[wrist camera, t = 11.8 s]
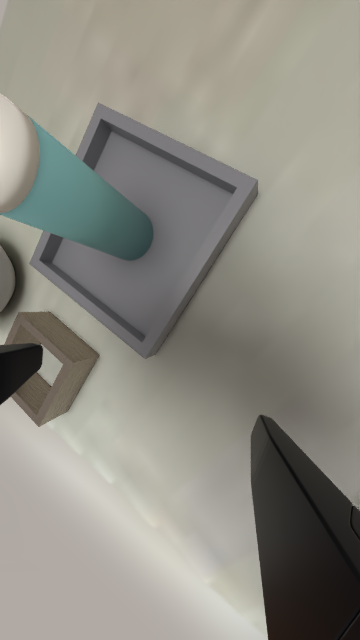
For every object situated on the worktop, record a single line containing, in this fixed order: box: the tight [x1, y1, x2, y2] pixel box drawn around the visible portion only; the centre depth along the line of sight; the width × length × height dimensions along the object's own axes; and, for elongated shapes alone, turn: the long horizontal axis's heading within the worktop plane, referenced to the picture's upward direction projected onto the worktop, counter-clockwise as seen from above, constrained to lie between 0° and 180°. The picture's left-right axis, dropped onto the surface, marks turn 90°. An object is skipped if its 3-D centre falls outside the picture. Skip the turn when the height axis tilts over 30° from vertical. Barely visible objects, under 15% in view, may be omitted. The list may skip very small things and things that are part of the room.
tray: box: [29, 103, 258, 359], centre depth 21 cm, size 16×16×2 cm
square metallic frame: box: [4, 312, 99, 427], centre depth 24 cm, size 8×8×4 cm
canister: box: [0, 94, 153, 261], centre depth 15 cm, size 5×5×12 cm
